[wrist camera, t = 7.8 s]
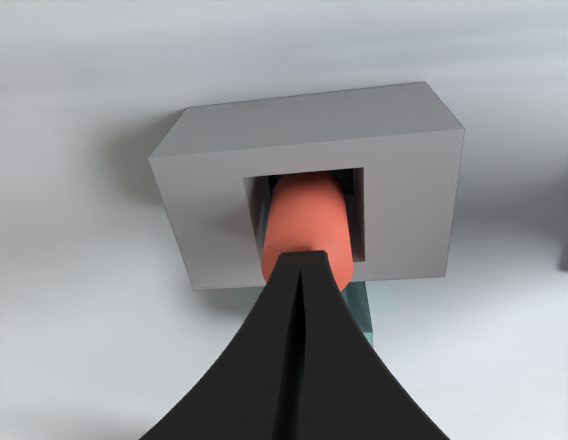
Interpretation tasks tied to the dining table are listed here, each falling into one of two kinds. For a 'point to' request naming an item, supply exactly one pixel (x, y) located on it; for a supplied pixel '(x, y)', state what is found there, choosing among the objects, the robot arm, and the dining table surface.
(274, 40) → the dining table surface
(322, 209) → the plunger
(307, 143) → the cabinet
